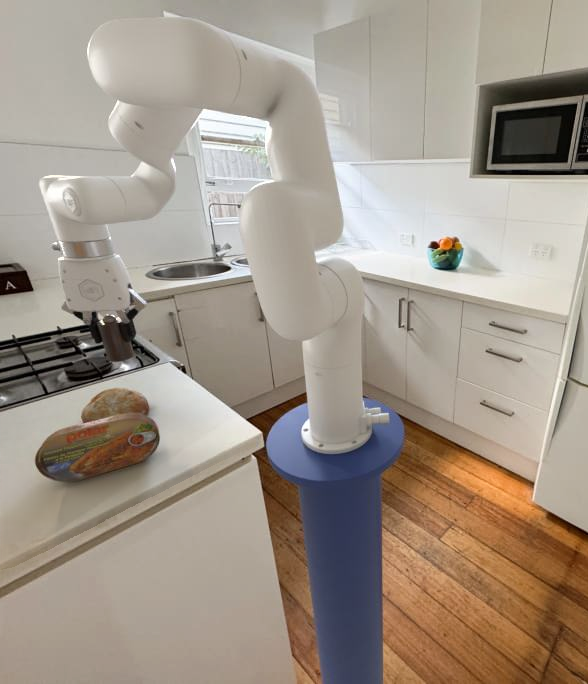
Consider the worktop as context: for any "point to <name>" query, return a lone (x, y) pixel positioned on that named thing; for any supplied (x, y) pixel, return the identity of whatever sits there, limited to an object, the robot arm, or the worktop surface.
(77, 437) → the tin
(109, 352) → the pepper mill
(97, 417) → the bread roll
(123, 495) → the worktop surface
